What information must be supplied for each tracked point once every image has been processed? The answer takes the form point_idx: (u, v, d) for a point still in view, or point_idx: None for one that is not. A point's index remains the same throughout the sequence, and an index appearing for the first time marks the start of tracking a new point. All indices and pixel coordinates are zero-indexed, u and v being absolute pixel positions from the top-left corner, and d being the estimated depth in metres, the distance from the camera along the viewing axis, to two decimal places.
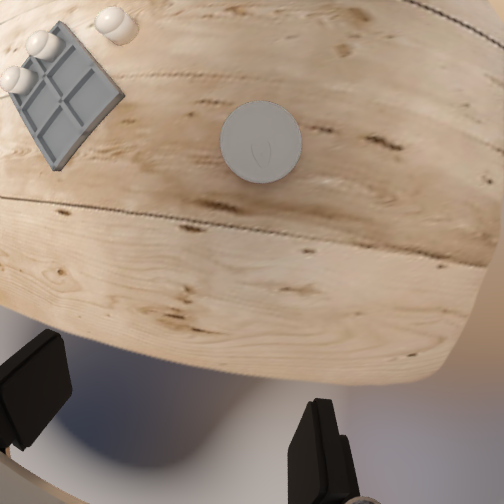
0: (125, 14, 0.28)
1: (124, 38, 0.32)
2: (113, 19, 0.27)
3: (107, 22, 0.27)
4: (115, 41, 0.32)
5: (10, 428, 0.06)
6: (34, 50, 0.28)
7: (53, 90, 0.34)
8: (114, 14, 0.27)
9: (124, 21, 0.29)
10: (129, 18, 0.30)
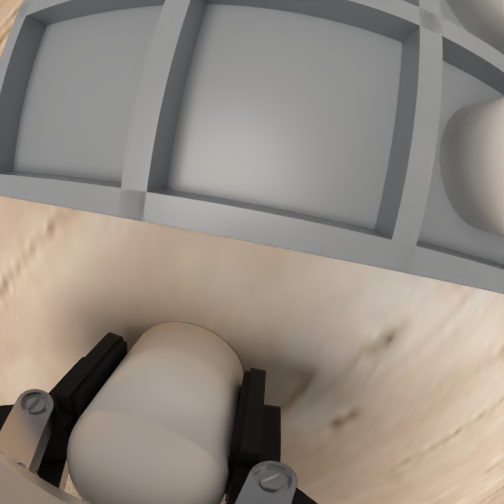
0: None
1: None
2: None
3: (73, 482, 0.05)
4: (139, 348, 0.09)
5: None
6: None
7: None
8: None
9: None
10: None
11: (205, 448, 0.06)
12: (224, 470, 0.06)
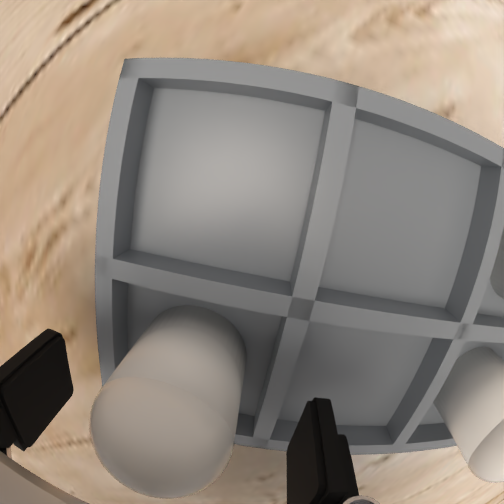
0: None
1: None
2: (97, 453, 0.07)
3: (95, 446, 0.06)
4: (154, 327, 0.11)
5: (11, 428, 0.06)
6: None
7: (377, 322, 0.10)
8: None
9: None
10: None
11: (215, 408, 0.08)
12: (231, 431, 0.08)
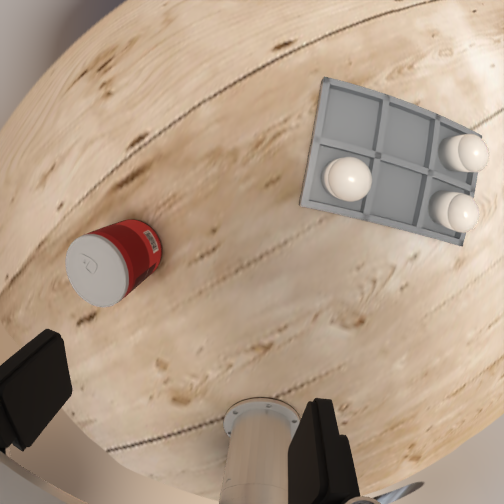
0: (336, 196, 0.30)
1: (324, 168, 0.32)
2: (336, 179, 0.28)
3: (340, 171, 0.27)
4: None
5: (10, 428, 0.06)
6: (457, 203, 0.27)
7: (400, 162, 0.31)
8: (340, 186, 0.28)
9: (329, 186, 0.30)
10: (332, 194, 0.31)
11: None
12: None
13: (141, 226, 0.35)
